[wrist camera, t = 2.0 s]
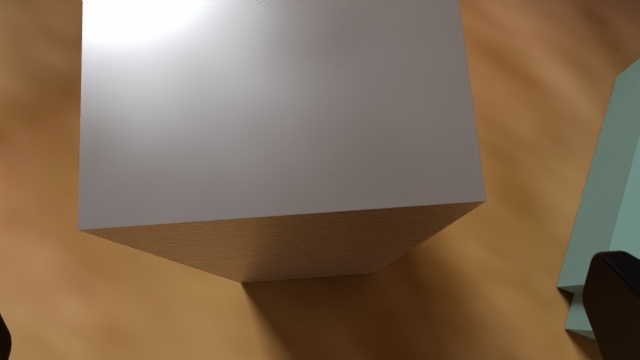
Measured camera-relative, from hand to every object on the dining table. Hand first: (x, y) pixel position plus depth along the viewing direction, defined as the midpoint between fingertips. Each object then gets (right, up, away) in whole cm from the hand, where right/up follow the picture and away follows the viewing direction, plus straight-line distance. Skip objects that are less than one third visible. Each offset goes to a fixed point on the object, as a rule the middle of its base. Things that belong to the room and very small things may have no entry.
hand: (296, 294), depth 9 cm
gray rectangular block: (0, +1, +11) cm, 11 cm away
